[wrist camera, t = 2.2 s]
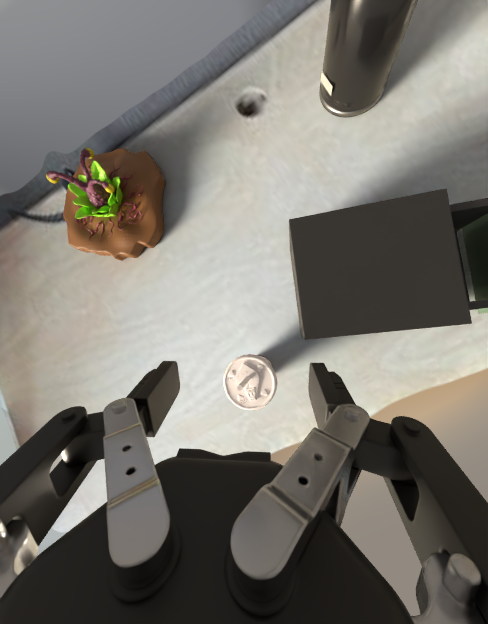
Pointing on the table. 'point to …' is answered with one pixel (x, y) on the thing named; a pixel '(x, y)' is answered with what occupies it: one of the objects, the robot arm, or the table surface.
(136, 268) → the table surface
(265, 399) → the smoothie
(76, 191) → the plant
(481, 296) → the drawer
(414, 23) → the table surface
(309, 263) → the cabinet
